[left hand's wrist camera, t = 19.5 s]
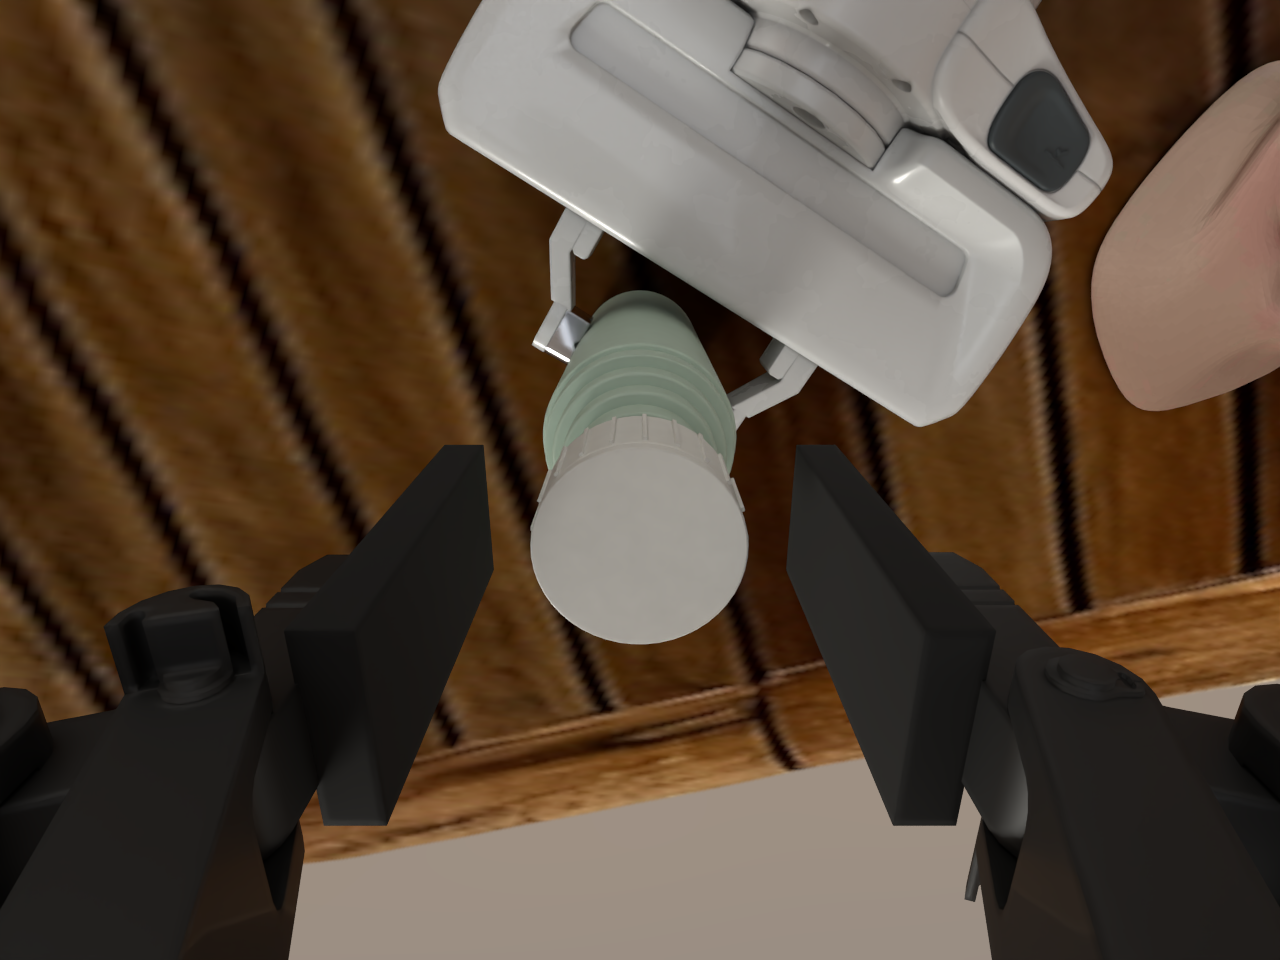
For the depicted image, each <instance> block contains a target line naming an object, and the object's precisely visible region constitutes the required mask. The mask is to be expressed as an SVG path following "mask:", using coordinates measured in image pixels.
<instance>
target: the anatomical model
mask: <svg viewBox="0 0 1280 960" xmlns="http://www.w3.org/2000/svg"><path fill="white" fill-rule="evenodd" d="M1091 300H1092V311H1093V319H1094V324H1095V328H1096V333H1097V337H1098V340H1099V343H1100V346H1101V349H1102V352H1103V355H1104V358H1105V360H1106V363H1107V365H1108V367H1109V370H1110V372H1111V375H1112V377H1113V379H1114V380H1115V382H1116V384H1117V386H1118V388H1119V389H1120V391H1121V392H1122V394H1123V395H1124V396H1125V398H1126V399H1127V400H1128V401H1129V402H1131V403H1132V404H1133V405H1135V406H1136V407H1138V408H1140V409H1143V410H1148V411H1162V410H1169V409H1173V408H1178V407H1182V406H1186V405H1189V404H1192V403H1196V402H1199V401H1202V400H1205V399H1208V398H1211V397H1214V396H1217V395H1220V394H1223V393H1226V392H1229V391H1231V390H1233V389H1236V388H1238V387H1240V386H1243V385H1245V384H1247V383H1249V382H1251V381H1253V380H1255V379H1257V378H1260V377H1262V376H1264V375H1266V374H1268V373H1270V372H1272V371H1273V370H1275V369H1276V368H1278V367H1279V366H1280V60H1279V61H1274V62H1270V63H1267V64H1265V65H1263V66H1261V67H1259V68H1257V69H1255V70H1254V71H1252V72H1250V73H1249V74H1248V75H1246V76H1245V77H1243V78H1242V79H1241V80H1239V81H1238V82H1237V83H1235V84H1234V85H1233V86H1232V87H1231V88H1230V89H1229V90H1228V91H1226V92H1225V93H1224V94H1223V95H1222V96H1221V97H1220V98H1218V99H1217V100H1216V101H1215V102H1214V103H1213V104H1212V105H1211V106H1210V107H1209V108H1208V109H1207V110H1206V111H1205V112H1204V113H1203V114H1202V115H1201V116H1200V117H1199V118H1198V119H1197V120H1196V121H1195V123H1194V124H1193V125H1192V126H1191V127H1190V128H1189V129H1188V130H1187V131H1186V132H1185V133H1184V134H1183V135H1182V136H1181V138H1180V139H1179V140H1178V141H1177V142H1176V143H1175V144H1174V145H1173V146H1172V148H1171V149H1170V150H1169V151H1168V152H1167V153H1166V155H1165V156H1164V157H1163V158H1162V159H1161V161H1160V162H1159V163H1158V164H1157V165H1156V167H1155V168H1154V169H1153V170H1152V171H1151V172H1150V174H1149V175H1148V176H1147V177H1146V178H1145V180H1144V181H1143V182H1142V184H1141V185H1140V186H1139V188H1138V189H1137V190H1136V191H1135V193H1134V194H1133V195H1132V197H1131V198H1130V199H1129V201H1128V202H1127V204H1126V205H1125V207H1124V208H1123V209H1122V211H1121V212H1120V214H1119V215H1118V217H1117V218H1116V219H1115V221H1114V223H1113V224H1112V226H1111V228H1110V229H1109V231H1108V233H1107V235H1106V237H1105V239H1104V241H1103V243H1102V245H1101V247H1100V249H1099V252H1098V255H1097V258H1096V261H1095V265H1094V269H1093V276H1092V282H1091Z"/></svg>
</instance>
